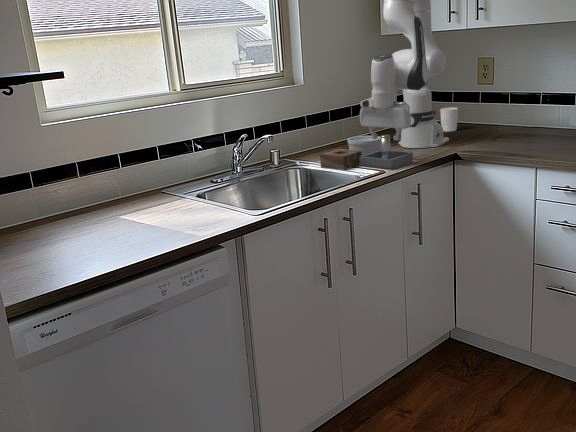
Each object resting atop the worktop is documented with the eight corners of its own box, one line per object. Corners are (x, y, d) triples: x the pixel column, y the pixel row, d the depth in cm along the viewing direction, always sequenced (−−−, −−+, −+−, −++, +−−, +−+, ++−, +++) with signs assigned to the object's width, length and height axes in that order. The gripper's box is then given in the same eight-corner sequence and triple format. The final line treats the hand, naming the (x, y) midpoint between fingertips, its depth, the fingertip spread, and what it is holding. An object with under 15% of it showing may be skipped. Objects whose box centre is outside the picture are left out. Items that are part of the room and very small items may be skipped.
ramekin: (370, 150, 261) (369, 134, 259) (388, 155, 249) (387, 137, 247) (342, 155, 255) (341, 138, 253) (359, 160, 244) (358, 142, 242)
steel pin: (385, 161, 236) (384, 134, 233) (392, 161, 234) (391, 135, 231) (379, 163, 234) (378, 136, 231) (387, 163, 231) (386, 136, 229)
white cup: (438, 132, 290) (438, 110, 287) (442, 129, 297) (441, 107, 294) (456, 131, 287) (456, 109, 284) (459, 128, 294) (459, 107, 291)
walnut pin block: (339, 161, 245) (338, 148, 243) (362, 163, 237) (361, 150, 236) (320, 167, 237) (319, 154, 236) (343, 170, 230) (343, 156, 228)
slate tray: (381, 158, 243) (381, 149, 242) (412, 161, 234) (412, 152, 233) (359, 166, 234) (359, 156, 233) (391, 169, 224) (391, 160, 223)
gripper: (414, 100, 223) (414, 139, 227) (366, 99, 236) (368, 136, 240) (404, 103, 218) (405, 143, 222) (356, 102, 232) (358, 139, 236)
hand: (385, 139), depth 231 cm, fingers open, 8 cm apart
